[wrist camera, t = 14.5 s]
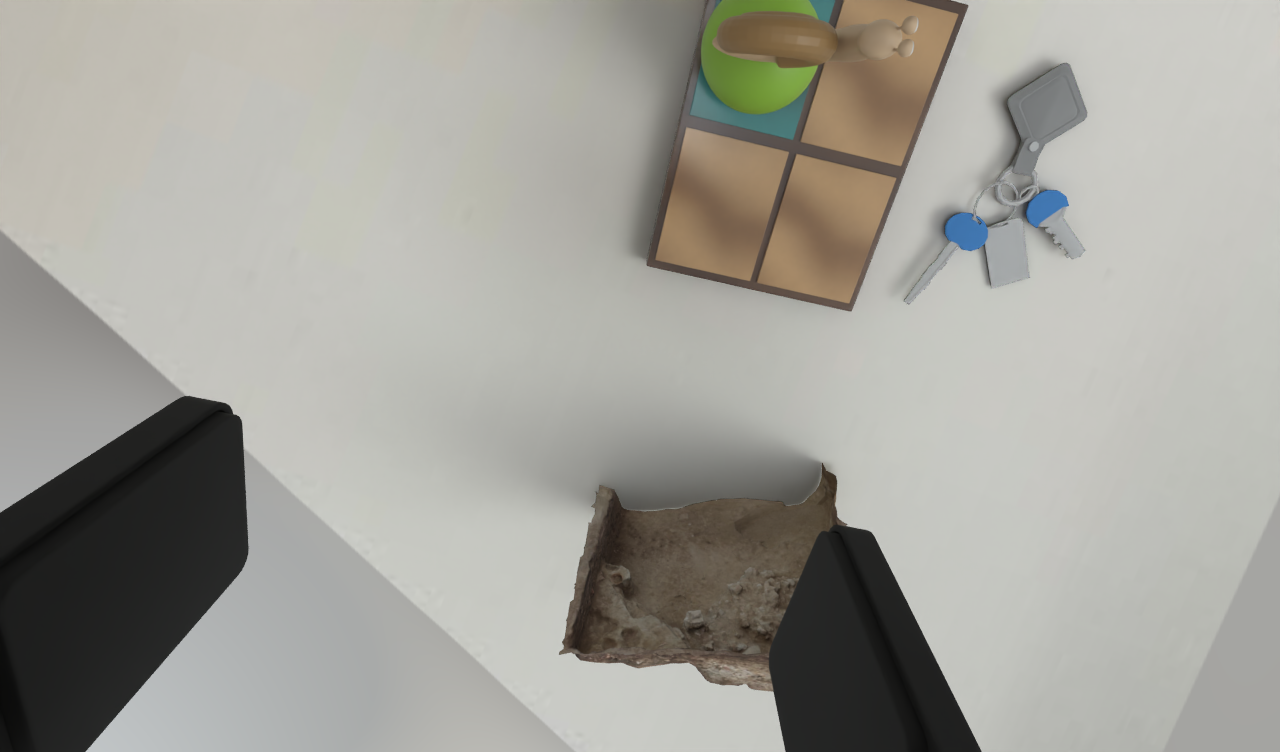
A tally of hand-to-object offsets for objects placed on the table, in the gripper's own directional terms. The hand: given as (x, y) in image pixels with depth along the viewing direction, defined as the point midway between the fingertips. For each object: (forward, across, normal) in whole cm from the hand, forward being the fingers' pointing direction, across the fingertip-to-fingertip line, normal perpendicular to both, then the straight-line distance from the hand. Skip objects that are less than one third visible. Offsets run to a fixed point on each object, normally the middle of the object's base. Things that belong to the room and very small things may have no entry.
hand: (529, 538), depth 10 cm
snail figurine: (+27, -5, -10) cm, 29 cm away
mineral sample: (+28, -10, +17) cm, 35 cm away
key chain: (+28, -22, -6) cm, 36 cm away
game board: (+28, -8, -6) cm, 30 cm away
